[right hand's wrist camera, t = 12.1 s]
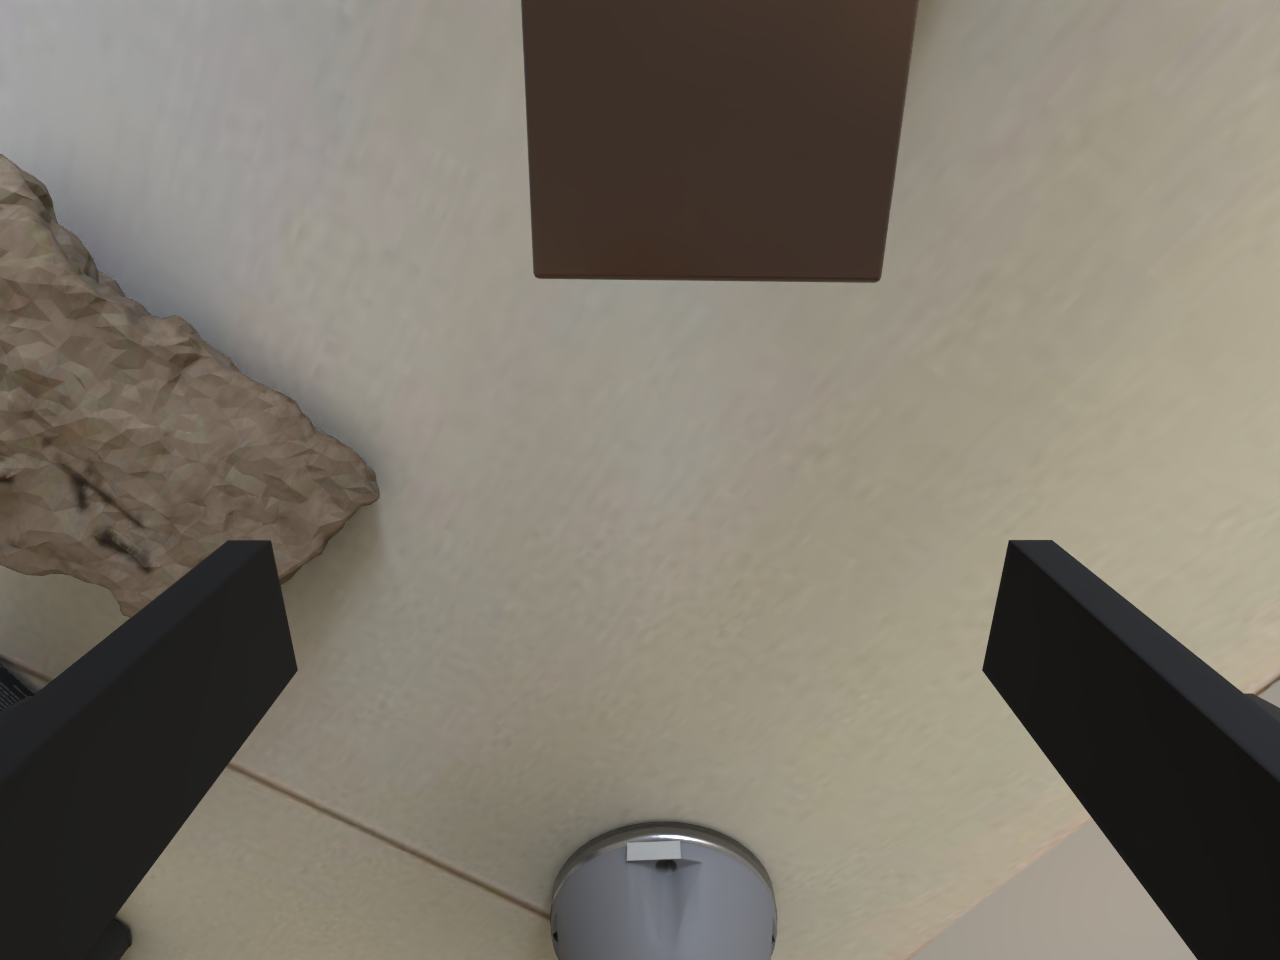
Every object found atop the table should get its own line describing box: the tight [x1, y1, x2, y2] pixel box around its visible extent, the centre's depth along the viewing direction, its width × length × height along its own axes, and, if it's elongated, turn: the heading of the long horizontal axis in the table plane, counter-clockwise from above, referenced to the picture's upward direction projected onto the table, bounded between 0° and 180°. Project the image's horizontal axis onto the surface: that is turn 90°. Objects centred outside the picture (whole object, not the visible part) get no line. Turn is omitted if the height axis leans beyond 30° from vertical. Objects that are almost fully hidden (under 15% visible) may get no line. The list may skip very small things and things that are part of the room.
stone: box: [0, 154, 380, 617], centre depth 33 cm, size 21×15×6 cm
